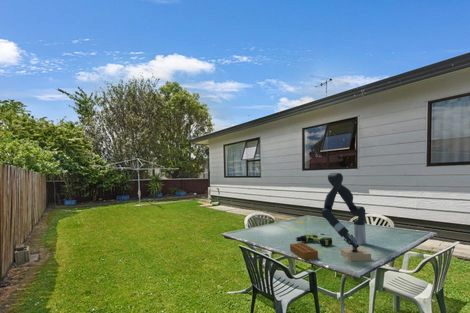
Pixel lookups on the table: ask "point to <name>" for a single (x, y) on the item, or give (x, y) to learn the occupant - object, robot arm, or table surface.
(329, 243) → the cordless drill
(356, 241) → the chuck key
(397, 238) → the table surface
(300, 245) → the brick
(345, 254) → the block
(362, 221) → the robot arm
